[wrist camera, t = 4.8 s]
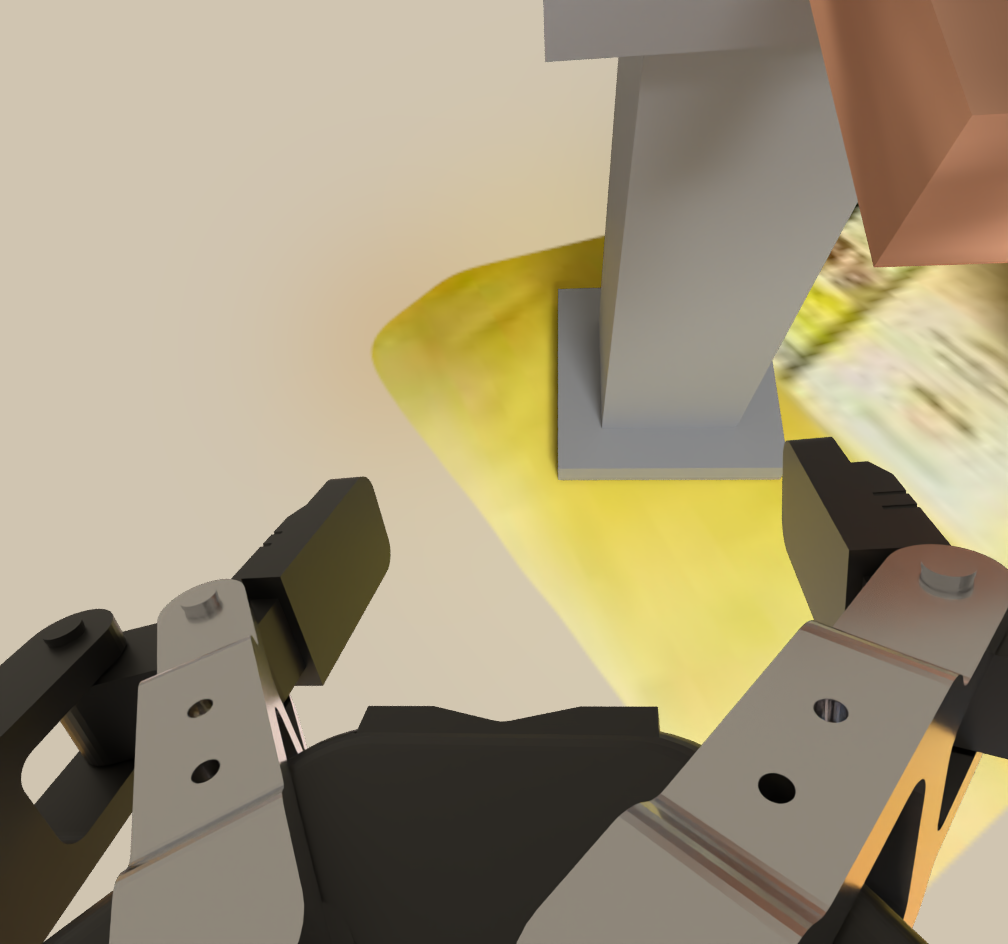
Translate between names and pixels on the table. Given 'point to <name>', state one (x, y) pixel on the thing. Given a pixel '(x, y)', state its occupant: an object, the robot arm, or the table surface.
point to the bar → (923, 124)
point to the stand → (697, 234)
